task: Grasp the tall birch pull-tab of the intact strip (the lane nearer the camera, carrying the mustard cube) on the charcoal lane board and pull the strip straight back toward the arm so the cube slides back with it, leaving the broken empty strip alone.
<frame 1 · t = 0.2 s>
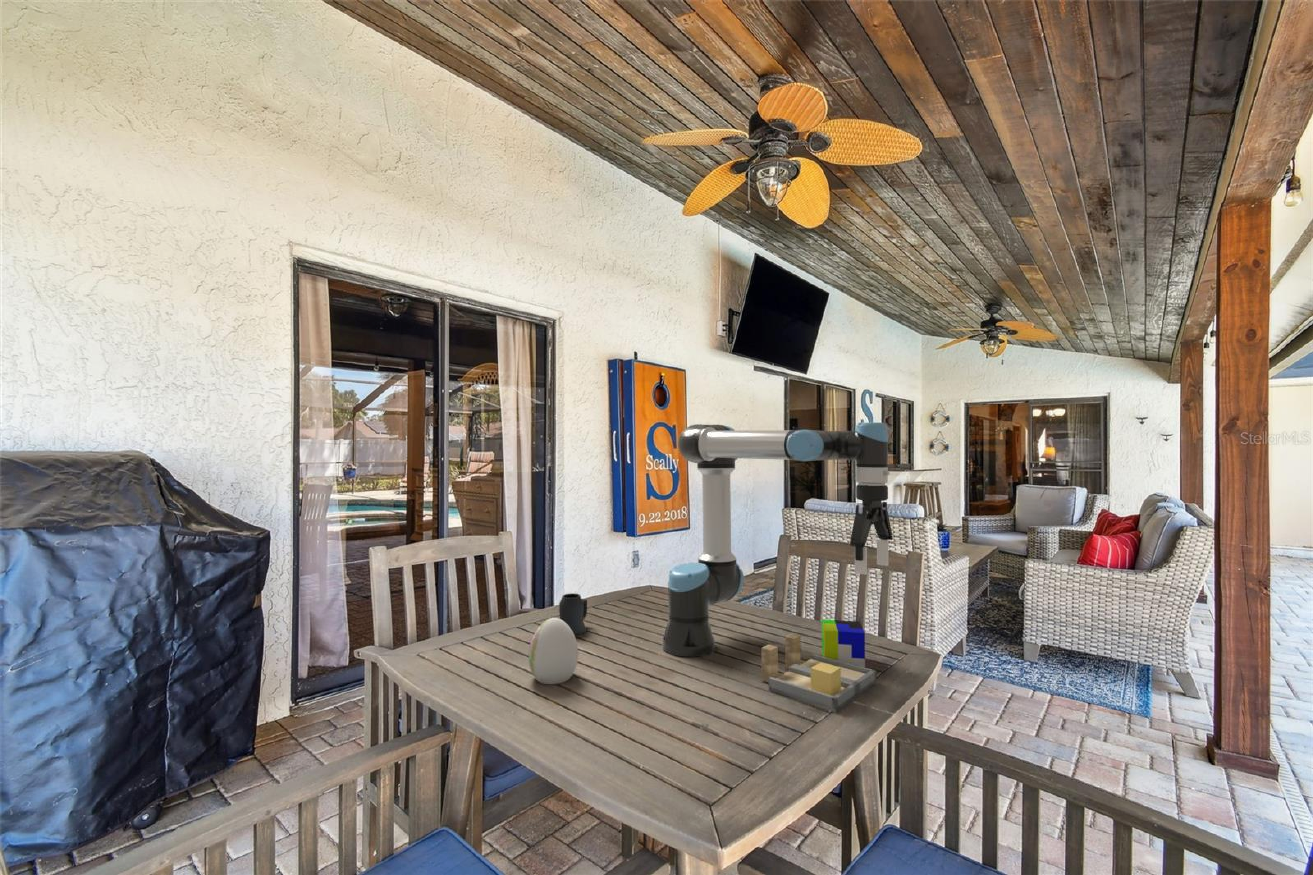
hand: (872, 569, 147), 28 cm above the table, fingers open, 13 cm apart
cube: (825, 689, 136), point 2 cm above the table, touching strip a
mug: (574, 630, 187), on the table
strip a: (800, 672, 141), point 4 cm above the table, slide at 0.0 cm, touching cube
lane board: (823, 686, 143), on the table
puzzle toy: (842, 664, 159), on the table
decorative egg: (553, 678, 148), on the table
strip b: (806, 655, 152), point 4 cm above the table, slide at 0.0 cm
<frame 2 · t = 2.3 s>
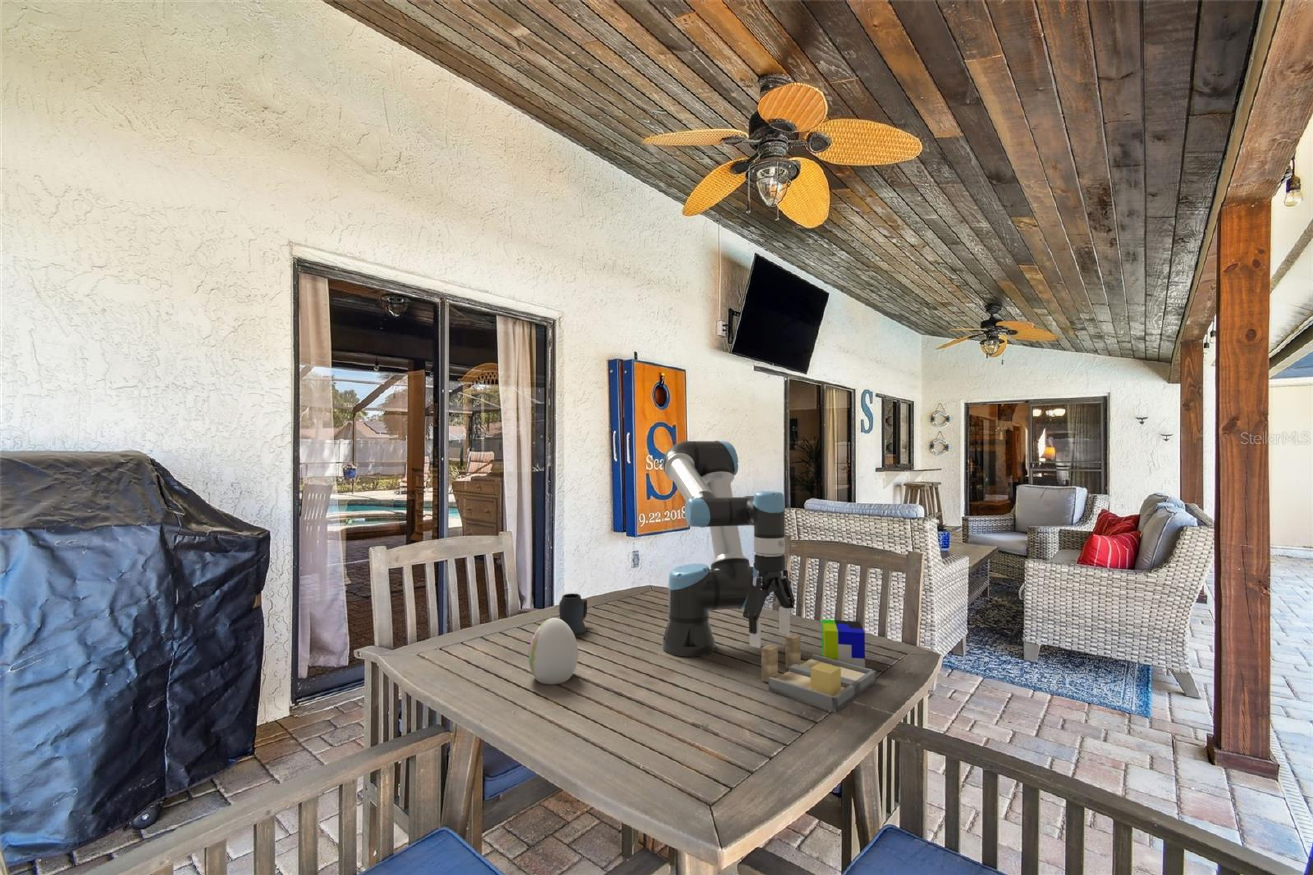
hand: (770, 640, 146), 10 cm above the table, fingers open, 13 cm apart
nothing on the table moved.
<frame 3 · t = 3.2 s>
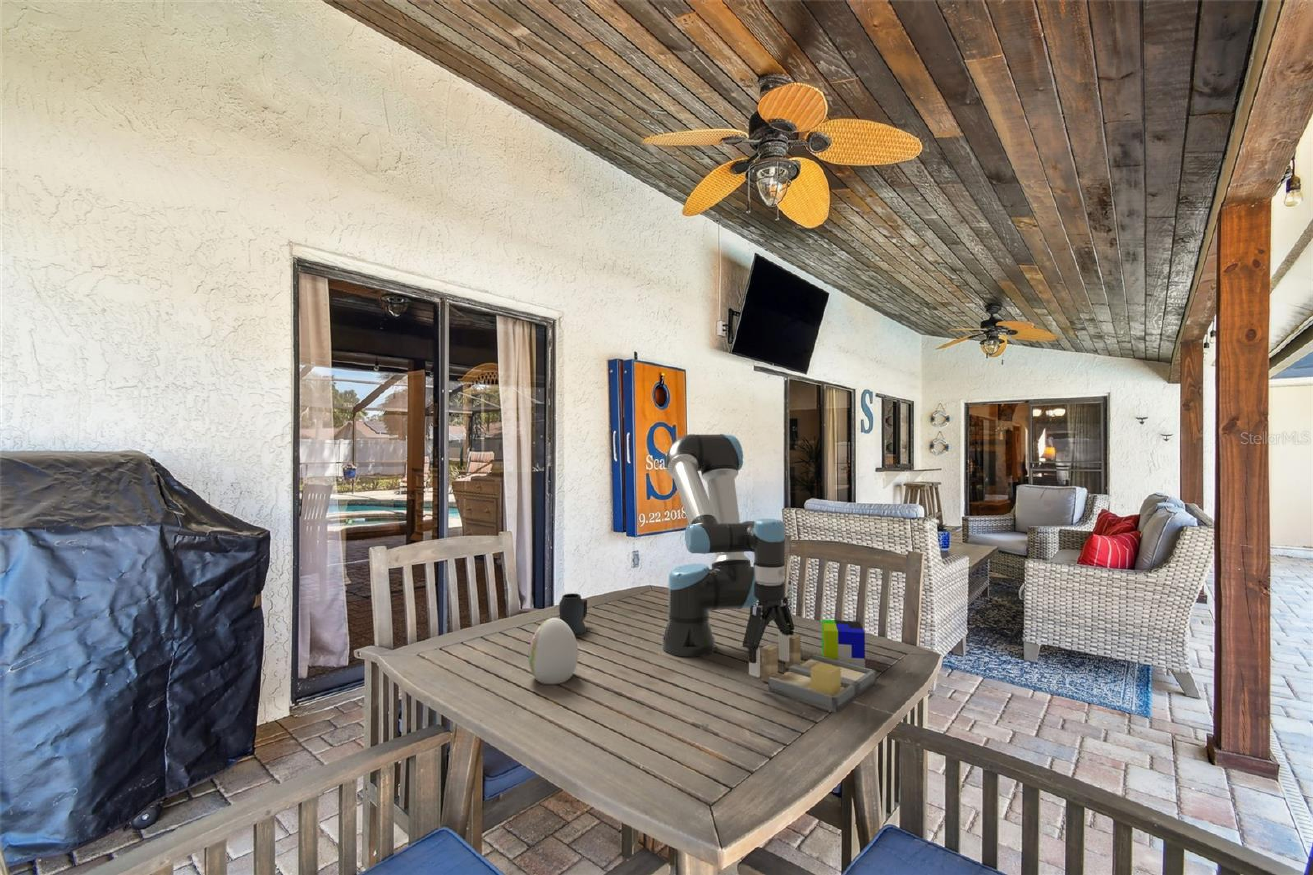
hand: (769, 667, 147), 3 cm above the table, fingers open, 13 cm apart
nothing on the table moved.
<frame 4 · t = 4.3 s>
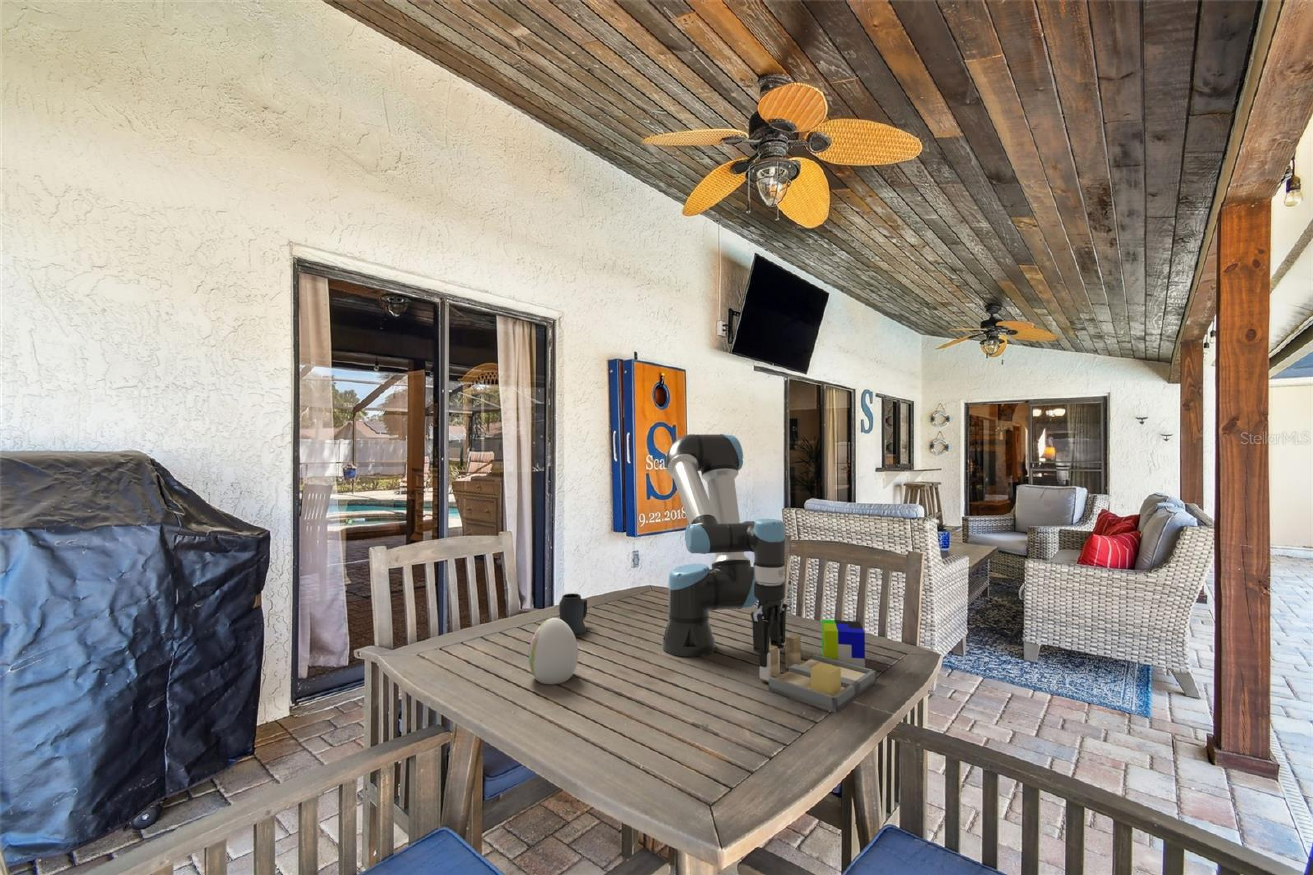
hand: (769, 676, 147), 1 cm above the table, fingers closed on strip a, 3 cm apart
strip a: (800, 672, 141), point 4 cm above the table, slide at 0.0 cm, touching cube, gripper
everything else where it was.
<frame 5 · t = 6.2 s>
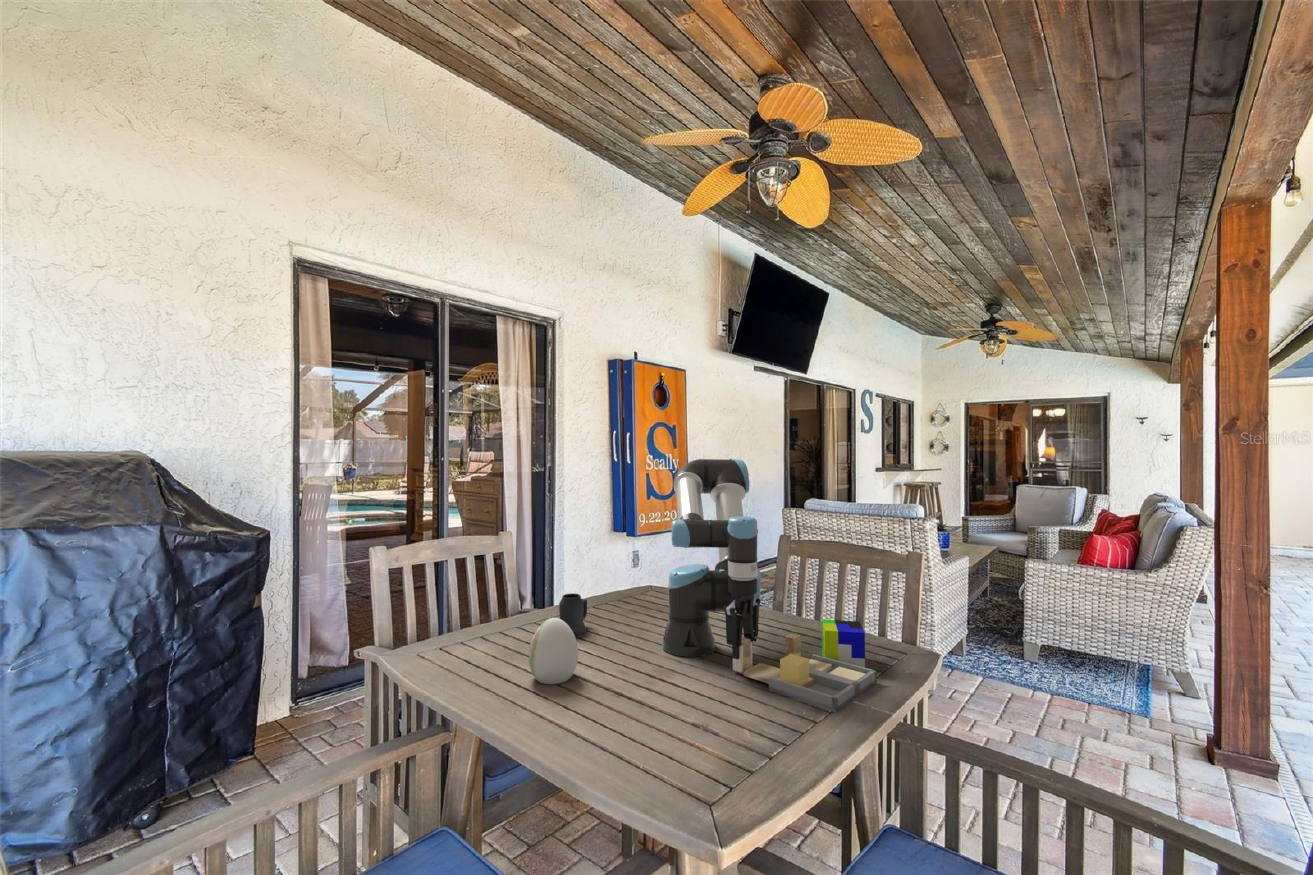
hand: (742, 668, 152), 1 cm above the table, fingers closed on strip a, 3 cm apart
cube: (794, 680, 142), point 2 cm above the table, touching strip a
strip a: (770, 663, 146), point 4 cm above the table, slide at 8.1 cm, touching cube, gripper
everything else where it was.
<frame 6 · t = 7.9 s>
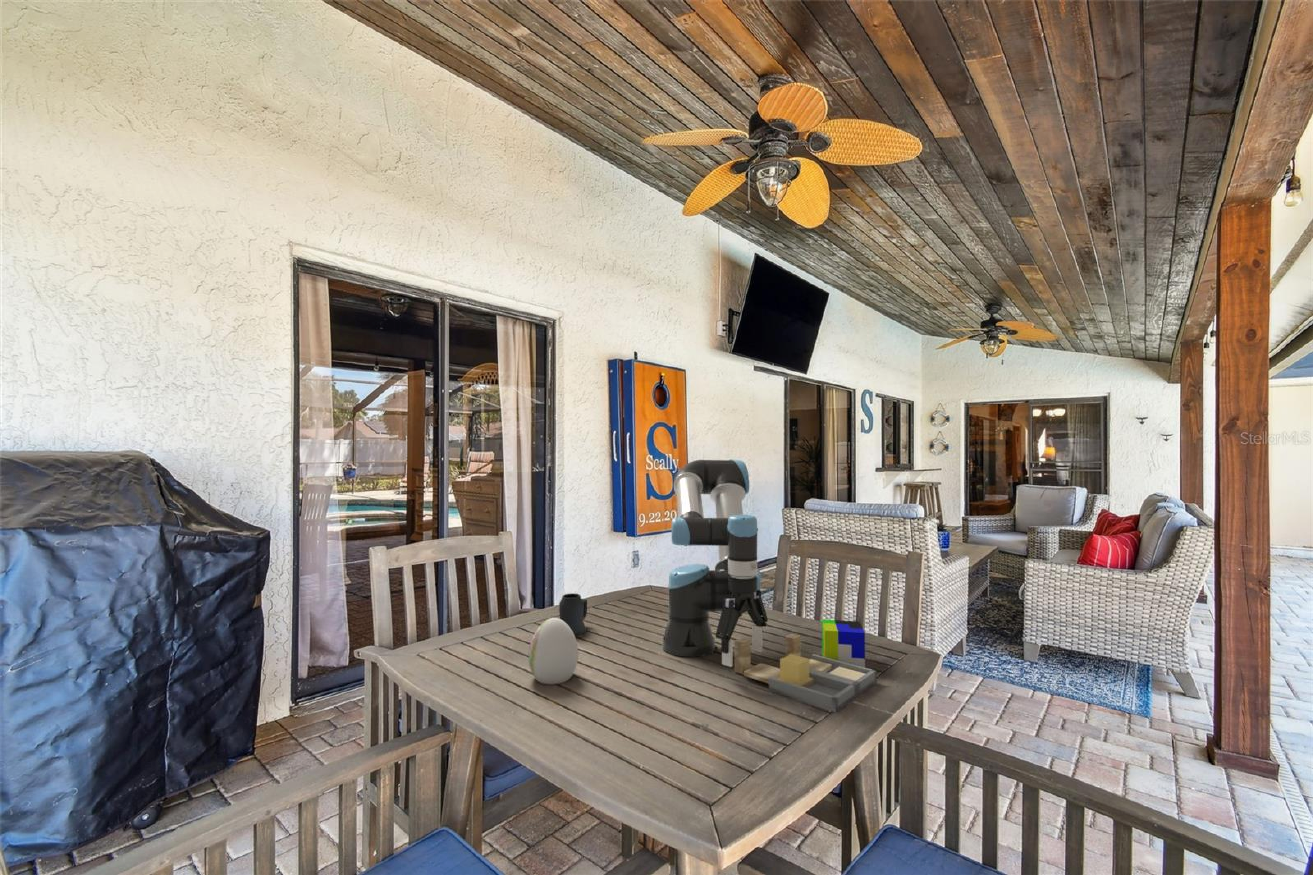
hand: (742, 657, 152), 4 cm above the table, fingers open, 13 cm apart
strip a: (770, 663, 146), point 4 cm above the table, slide at 8.1 cm, touching cube
everything else where it was.
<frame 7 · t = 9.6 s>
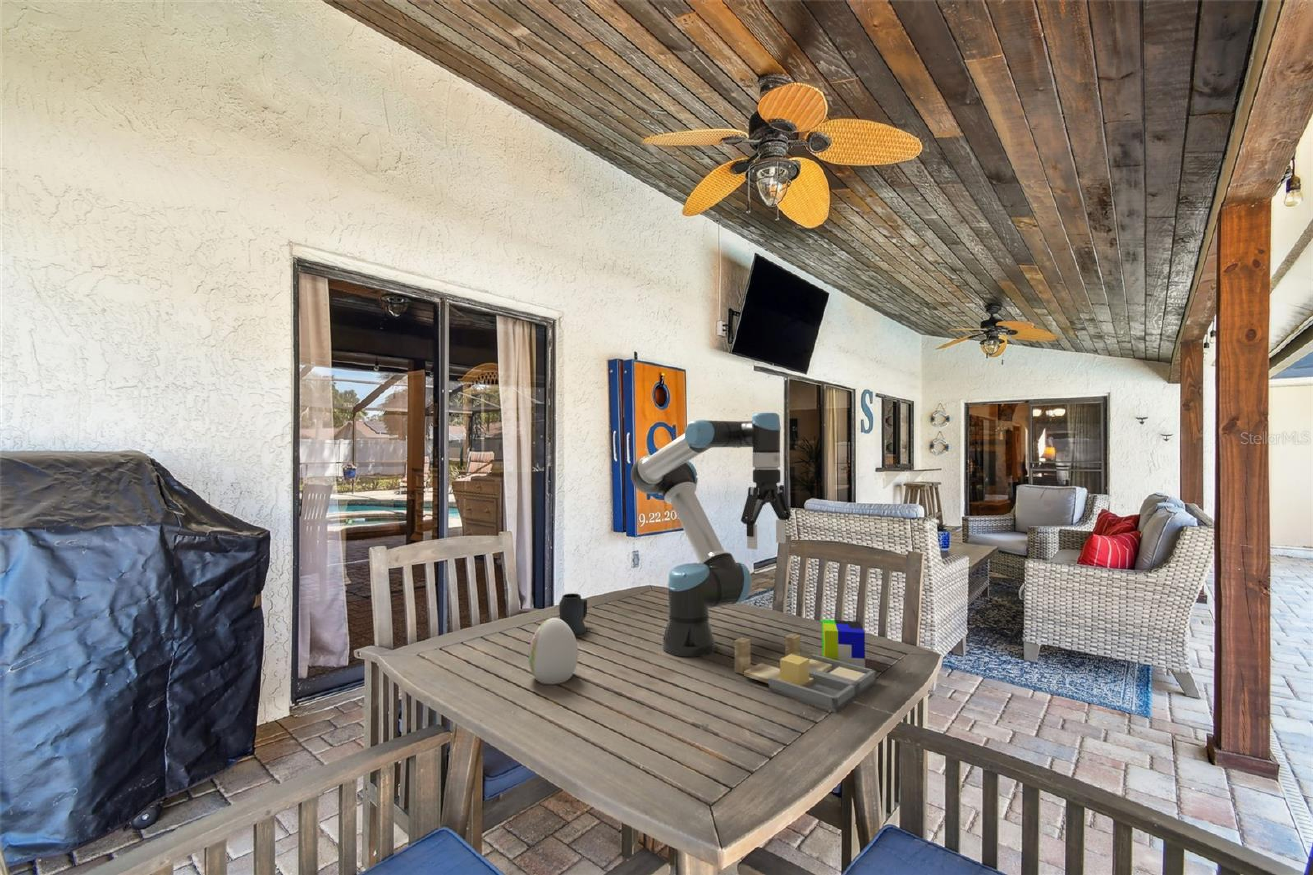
hand: (767, 545, 163), 31 cm above the table, fingers open, 13 cm apart
nothing on the table moved.
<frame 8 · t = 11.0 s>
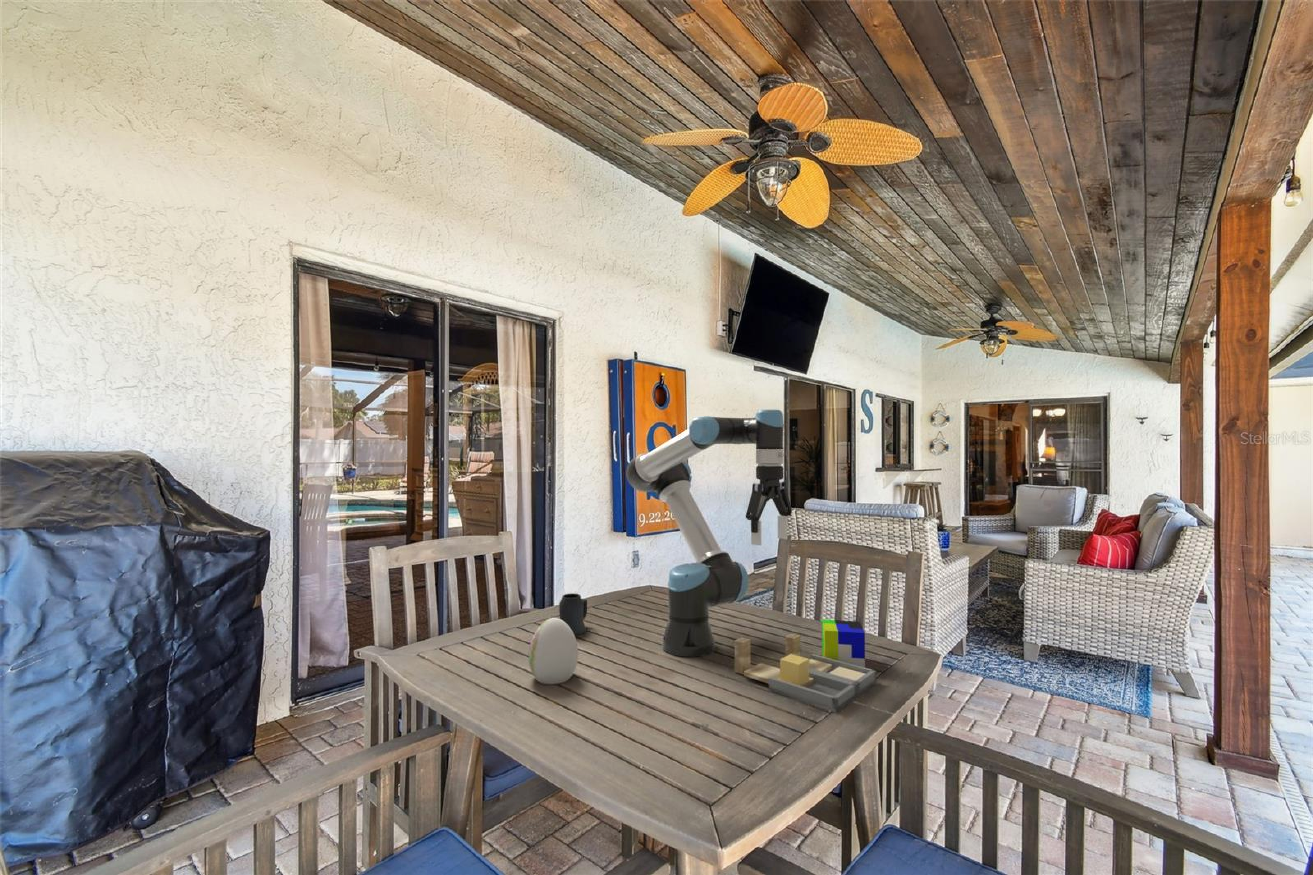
hand: (769, 541, 164), 32 cm above the table, fingers open, 13 cm apart
nothing on the table moved.
at the end: strip a slide at 8.1 cm; cube inside the target area (1.9 cm from its centre), point 2.0 cm above the table; strip b slide at 0.0 cm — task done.
